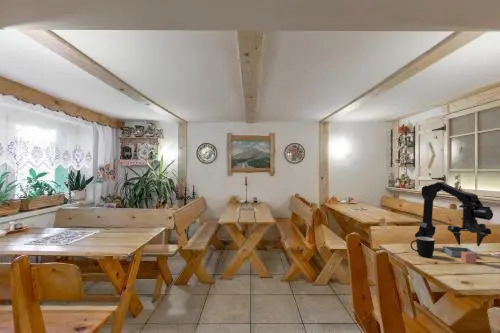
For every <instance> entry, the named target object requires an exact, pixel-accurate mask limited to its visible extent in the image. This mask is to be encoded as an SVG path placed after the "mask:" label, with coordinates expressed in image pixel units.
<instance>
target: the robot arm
mask: <svg viewBox="0 0 500 333" xmlns="http://www.w3.org/2000/svg"><path fill="white" fill-rule="evenodd" d="M440 191H442V192H445V193H446V194H448V195H451V196H453V197H454V198H456V199H458V201H459V202H460V203H462V204H460V205H459V206H458V208H461V209H462V217H461V220H462V224H461V227H460V226H458V225H450V224H449V225H448V226H447V230H448V231H449V232H450V233H451V234H452V235H453V236H454V238H455V240H456V243H457V244H458V246H461V234H462V233H461V232H469V233H471V234H476V245H477V247H480V246H481V243H482V241H483V239H484V238H485V237H487V236H489V235H492V230H491V228H488V227H486V226H487V225H486V224H485V223H478V219H479V220H480V219H481V220H487V221H491V220H493V217H494V212H493V210H492V209H491V206H486V205H485V206H484V205H483V203H482V202H481V201H480V199H479V196H478V195H477V194H475V193H472V192H468V191H465V190H464V191H463V190H461V189H458V188H456V187H454V186H452V185H450V184H448V183H446V182H444V181H438V182H435V183H432V184H428V185H423V186H422V187H421V196H422V199H423V211H422V221H421V224H420V225H419V226H418V231H417V232H416V233H415V234H414V236H415V238H416V239H417V237H428V238H432V239H433V236H435V233H436V228H437V227H436V226H434V225H433V212H434V210H433V209H434V200H435V198H437V194H438V193H439V192H440ZM416 247H417V244H416Z"/></svg>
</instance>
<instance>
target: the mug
mask: <svg viewBox="0 0 500 333" xmlns="http://www.w3.org/2000/svg"><path fill="white" fill-rule="evenodd" d="M414 242H416V243H415V244H416V245H417V246H416V249H415V248H414V247H413V243H414ZM435 244H436V240H435V239H434V238H433V237H432V238H428V237H417V238H416V239H415V240H414V239H413V240H412V241H411V242H410V248H411V250H412V251H414V252H415V253H416V252H417V254H418V256H419V257H421V258H426V259H427V258H429V259H430V258H432V257H433V256H434V255H433V254H434V252H435Z"/></svg>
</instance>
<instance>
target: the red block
mask: <svg viewBox="0 0 500 333" xmlns="http://www.w3.org/2000/svg"><path fill="white" fill-rule="evenodd" d="M460 260H461V262H463V263H465V264H472V265H474V264H475V265H477V259H476V254H474V253H472V252H462V251H461V258H460Z"/></svg>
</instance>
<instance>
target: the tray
mask: <svg viewBox="0 0 500 333" xmlns="http://www.w3.org/2000/svg"><path fill="white" fill-rule="evenodd" d="M461 251H462V252H472V253H474V254H476V260H478V253H477V252H475V251H474V250H472V249H470V248H468V247H459V246H456V247H455V246H442V252H443V253H445V254H446V255H448V256H450V258H459V259H461Z"/></svg>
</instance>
